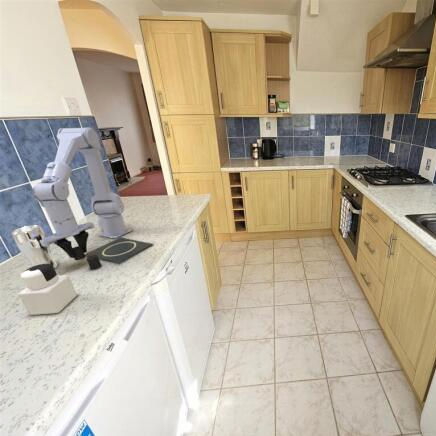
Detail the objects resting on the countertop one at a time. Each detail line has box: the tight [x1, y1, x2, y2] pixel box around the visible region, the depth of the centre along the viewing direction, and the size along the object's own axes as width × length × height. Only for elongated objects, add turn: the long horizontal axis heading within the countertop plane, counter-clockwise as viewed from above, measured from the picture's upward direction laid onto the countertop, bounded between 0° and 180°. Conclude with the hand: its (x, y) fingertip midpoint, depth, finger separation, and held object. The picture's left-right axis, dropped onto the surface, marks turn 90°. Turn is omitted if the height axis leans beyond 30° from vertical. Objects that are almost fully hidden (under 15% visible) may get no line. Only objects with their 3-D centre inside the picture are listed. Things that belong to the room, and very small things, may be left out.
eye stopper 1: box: [72, 245, 87, 262], centre depth 83 cm, size 3×3×4 cm
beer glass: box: [10, 224, 58, 269], centre depth 80 cm, size 7×7×15 cm
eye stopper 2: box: [85, 255, 102, 271], centre depth 82 cm, size 3×3×4 cm
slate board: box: [84, 237, 154, 265], centre depth 93 cm, size 18×14×1 cm
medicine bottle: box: [17, 264, 78, 316], centre depth 64 cm, size 7×7×12 cm
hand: (78, 254), depth 84 cm, fingers closed on eye stopper 1, 3 cm apart
